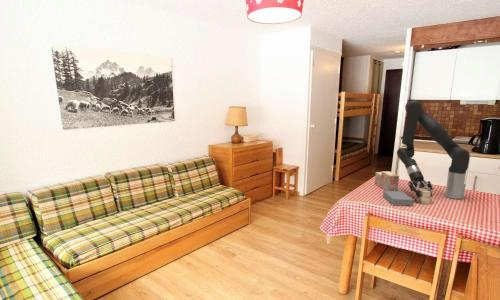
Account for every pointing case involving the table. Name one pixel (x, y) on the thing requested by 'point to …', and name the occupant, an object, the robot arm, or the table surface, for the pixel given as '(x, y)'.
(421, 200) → the birch block
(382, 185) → the stack of blocks
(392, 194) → the slate plinth
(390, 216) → the table surface
